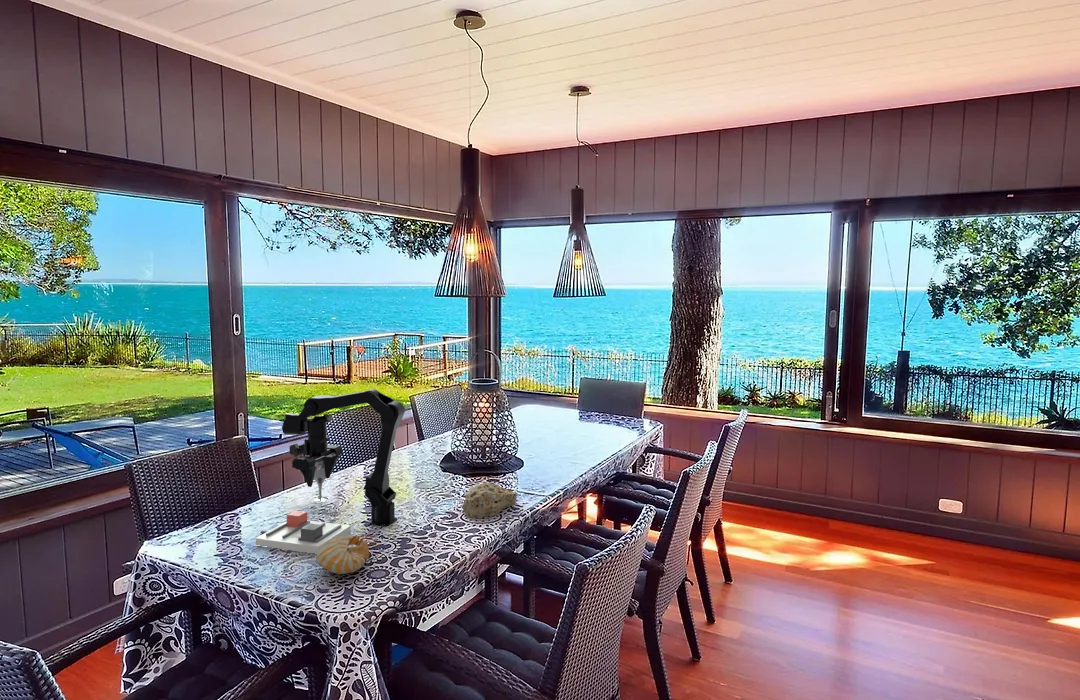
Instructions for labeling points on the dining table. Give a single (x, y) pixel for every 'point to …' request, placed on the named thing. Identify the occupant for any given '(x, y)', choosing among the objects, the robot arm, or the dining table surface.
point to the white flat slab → (292, 540)
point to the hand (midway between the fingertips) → (318, 482)
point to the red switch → (296, 518)
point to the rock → (487, 500)
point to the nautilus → (345, 554)
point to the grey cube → (311, 532)
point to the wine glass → (320, 478)
